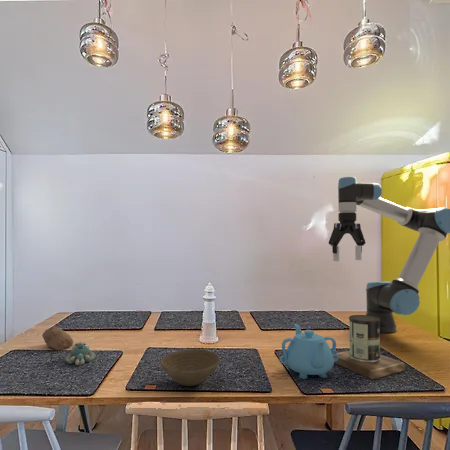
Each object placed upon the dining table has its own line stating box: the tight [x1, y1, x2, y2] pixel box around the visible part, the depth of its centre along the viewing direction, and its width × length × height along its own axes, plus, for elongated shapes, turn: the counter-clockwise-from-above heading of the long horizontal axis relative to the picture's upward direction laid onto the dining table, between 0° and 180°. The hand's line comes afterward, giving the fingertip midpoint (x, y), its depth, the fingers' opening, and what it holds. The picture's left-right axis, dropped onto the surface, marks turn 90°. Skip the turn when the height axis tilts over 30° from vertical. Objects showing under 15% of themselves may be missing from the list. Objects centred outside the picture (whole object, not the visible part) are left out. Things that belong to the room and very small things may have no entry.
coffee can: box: [348, 314, 381, 362], centre depth 129 cm, size 10×10×14 cm
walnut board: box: [333, 350, 406, 380], centre depth 127 cm, size 16×18×2 cm
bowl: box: [159, 349, 220, 387], centre depth 112 cm, size 18×18×8 cm
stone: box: [41, 325, 74, 351], centre depth 148 cm, size 12×9×10 cm
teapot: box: [279, 323, 338, 380], centre depth 122 cm, size 16×20×14 cm
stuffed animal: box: [63, 342, 97, 366], centre depth 131 cm, size 11×7×12 cm
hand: (347, 260), depth 159 cm, fingers open, 13 cm apart
